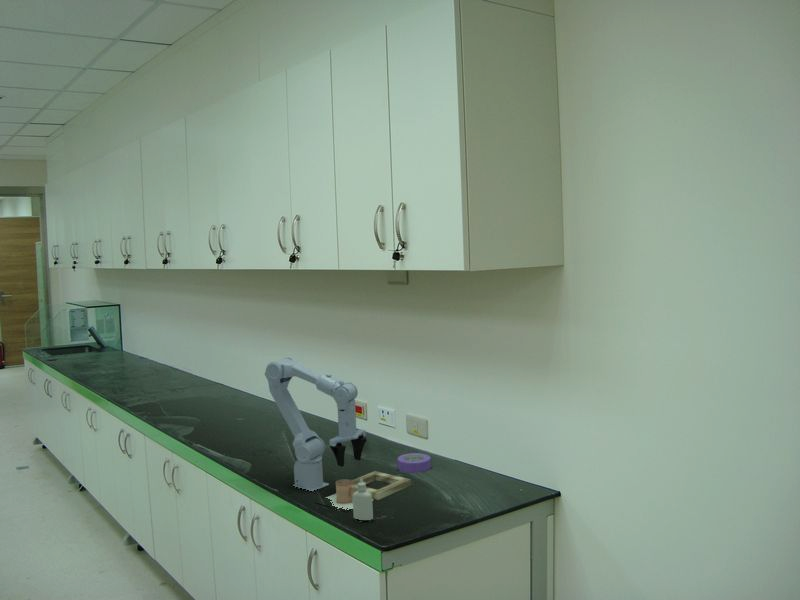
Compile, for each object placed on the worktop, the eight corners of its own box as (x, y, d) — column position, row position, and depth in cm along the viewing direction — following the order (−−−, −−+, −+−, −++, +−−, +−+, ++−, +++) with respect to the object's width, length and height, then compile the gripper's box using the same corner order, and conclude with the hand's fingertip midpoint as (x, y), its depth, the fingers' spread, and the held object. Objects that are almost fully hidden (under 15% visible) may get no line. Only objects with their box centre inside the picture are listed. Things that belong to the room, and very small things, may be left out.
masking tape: (434, 463, 253) (433, 453, 252) (426, 474, 241) (426, 463, 241) (402, 462, 256) (402, 452, 255) (394, 472, 245) (393, 462, 244)
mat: (314, 503, 218) (314, 502, 218) (342, 491, 227) (342, 490, 227) (346, 512, 209) (346, 511, 209) (373, 500, 218) (373, 499, 218)
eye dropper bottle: (364, 514, 206) (362, 474, 206) (375, 520, 202) (373, 479, 201) (352, 518, 204) (349, 478, 203) (362, 524, 199) (359, 483, 198)
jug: (343, 496, 221) (342, 478, 221) (360, 500, 217) (359, 481, 217) (332, 501, 217) (331, 482, 217) (349, 505, 213) (348, 486, 213)
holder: (342, 490, 228) (341, 484, 228) (375, 476, 240) (375, 471, 240) (378, 500, 218) (377, 493, 218) (411, 485, 230) (410, 479, 230)
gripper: (339, 428, 217) (342, 470, 218) (371, 418, 228) (373, 458, 229) (324, 425, 222) (326, 467, 223) (356, 415, 233) (358, 455, 234)
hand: (349, 462), depth 227 cm, fingers open, 7 cm apart
